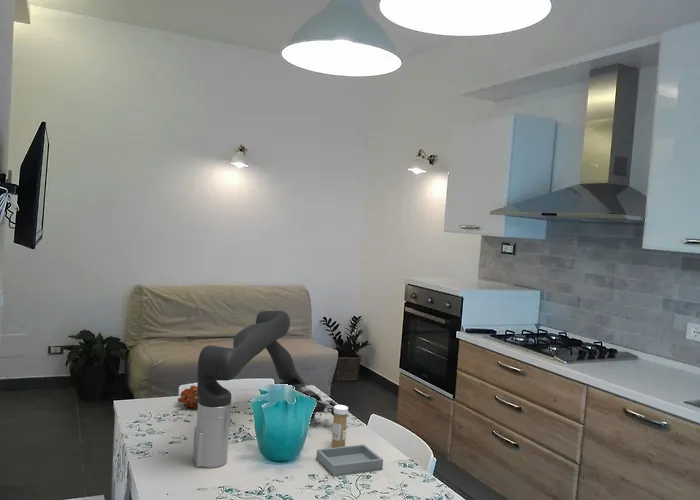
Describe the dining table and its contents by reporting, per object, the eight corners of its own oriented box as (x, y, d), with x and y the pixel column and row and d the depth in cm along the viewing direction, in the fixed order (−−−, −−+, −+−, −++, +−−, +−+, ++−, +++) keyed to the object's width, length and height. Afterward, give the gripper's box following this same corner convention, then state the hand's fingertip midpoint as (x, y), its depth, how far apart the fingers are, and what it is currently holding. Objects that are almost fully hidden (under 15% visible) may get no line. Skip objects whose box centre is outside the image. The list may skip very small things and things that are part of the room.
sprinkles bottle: (347, 450, 183) (351, 408, 183) (335, 452, 181) (338, 409, 180) (340, 444, 187) (343, 403, 187) (327, 446, 185) (331, 405, 184)
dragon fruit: (201, 417, 207) (181, 413, 214) (216, 399, 213) (196, 395, 220) (189, 400, 203) (168, 396, 211) (204, 382, 209) (184, 379, 216)
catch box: (332, 476, 163) (333, 466, 163) (316, 459, 174) (316, 449, 174) (382, 469, 171) (383, 459, 170) (363, 453, 181) (364, 444, 181)
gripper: (289, 391, 204) (306, 405, 190) (326, 388, 211) (345, 402, 196) (287, 412, 205) (304, 428, 190) (324, 409, 211) (344, 424, 197)
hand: (325, 415), depth 193 cm, fingers open, 8 cm apart
